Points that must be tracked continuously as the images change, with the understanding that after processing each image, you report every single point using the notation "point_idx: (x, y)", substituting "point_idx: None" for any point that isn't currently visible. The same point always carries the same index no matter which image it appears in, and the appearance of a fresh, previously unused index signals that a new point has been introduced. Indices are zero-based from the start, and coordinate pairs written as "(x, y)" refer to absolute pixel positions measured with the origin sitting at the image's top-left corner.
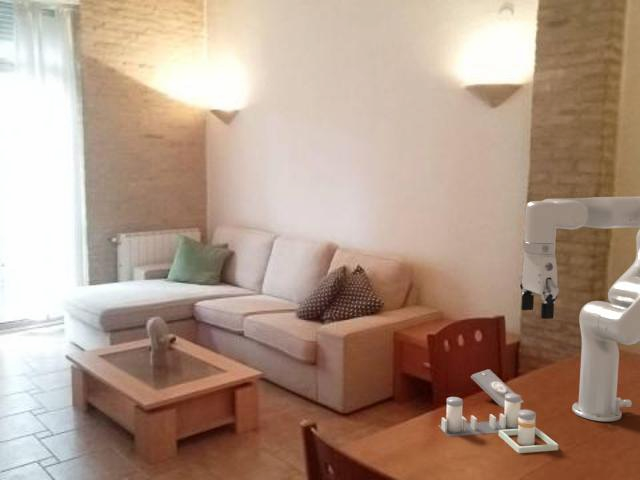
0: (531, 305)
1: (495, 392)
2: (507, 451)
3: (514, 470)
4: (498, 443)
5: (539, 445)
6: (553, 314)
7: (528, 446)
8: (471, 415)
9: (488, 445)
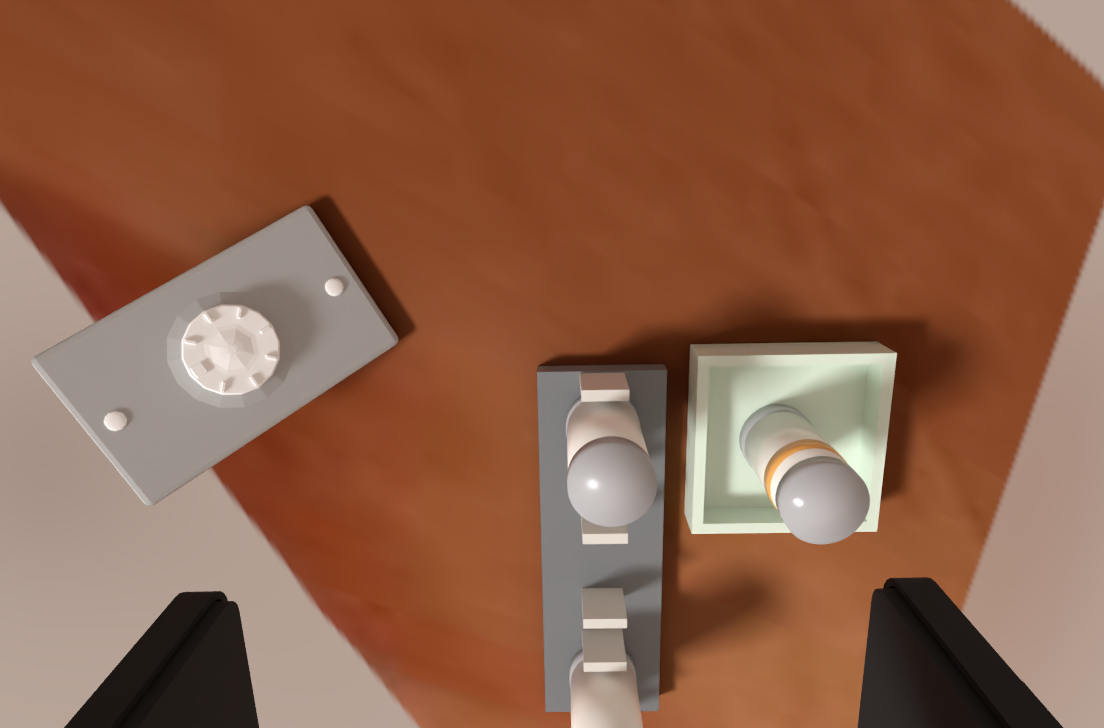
0: (202, 679)
1: (278, 384)
2: None
3: (945, 567)
4: None
5: (880, 438)
6: (957, 609)
7: (876, 487)
8: (583, 626)
9: (725, 570)
